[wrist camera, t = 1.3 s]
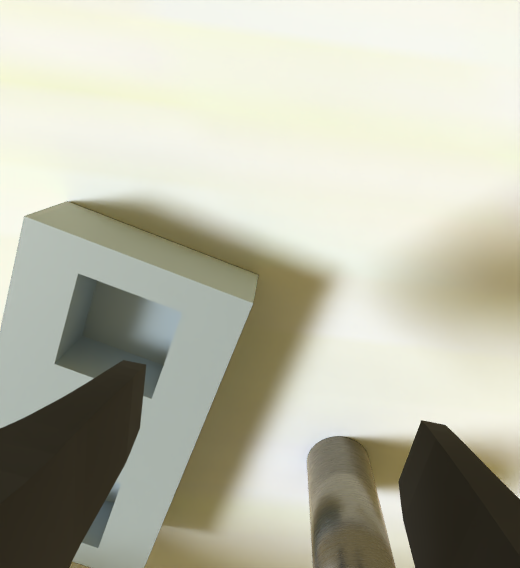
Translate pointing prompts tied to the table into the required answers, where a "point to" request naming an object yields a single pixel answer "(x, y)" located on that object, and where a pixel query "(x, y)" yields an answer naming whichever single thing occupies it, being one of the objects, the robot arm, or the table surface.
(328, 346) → the table surface
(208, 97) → the table surface
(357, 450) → the peg
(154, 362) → the hole block
